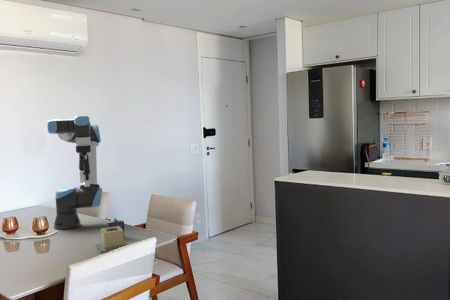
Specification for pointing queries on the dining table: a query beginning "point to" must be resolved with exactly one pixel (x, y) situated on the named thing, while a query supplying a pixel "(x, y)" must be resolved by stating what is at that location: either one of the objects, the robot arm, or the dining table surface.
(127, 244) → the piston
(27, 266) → the dining table surface
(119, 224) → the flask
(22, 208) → the dining table surface
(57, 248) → the dining table surface
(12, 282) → the dining table surface
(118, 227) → the olive slotted box
